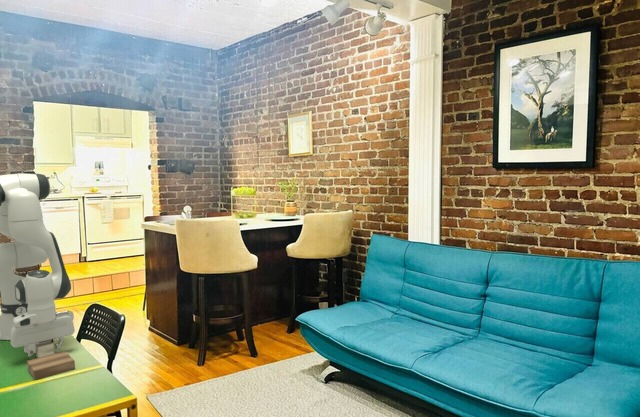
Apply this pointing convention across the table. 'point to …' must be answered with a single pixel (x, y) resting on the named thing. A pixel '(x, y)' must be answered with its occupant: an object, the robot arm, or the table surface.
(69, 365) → the walnut base
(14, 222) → the robot arm
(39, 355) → the ash cube
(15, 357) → the table surface
